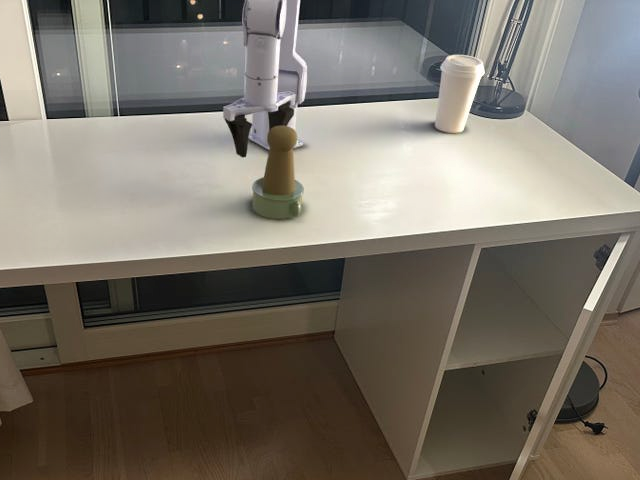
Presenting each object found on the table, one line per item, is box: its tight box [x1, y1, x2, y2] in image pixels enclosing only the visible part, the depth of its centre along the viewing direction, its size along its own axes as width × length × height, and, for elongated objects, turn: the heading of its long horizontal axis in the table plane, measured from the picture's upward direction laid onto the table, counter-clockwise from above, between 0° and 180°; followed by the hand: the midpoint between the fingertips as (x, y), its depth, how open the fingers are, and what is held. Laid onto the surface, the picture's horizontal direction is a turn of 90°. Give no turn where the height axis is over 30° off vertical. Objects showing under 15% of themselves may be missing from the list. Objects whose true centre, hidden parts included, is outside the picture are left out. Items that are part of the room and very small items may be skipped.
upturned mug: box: [251, 176, 305, 220], centre depth 129 cm, size 11×9×4 cm
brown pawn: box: [262, 126, 298, 195], centre depth 124 cm, size 6×6×11 cm
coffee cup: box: [434, 54, 485, 134], centre depth 158 cm, size 10×10×15 cm
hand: (257, 150), depth 128 cm, fingers open, 7 cm apart
